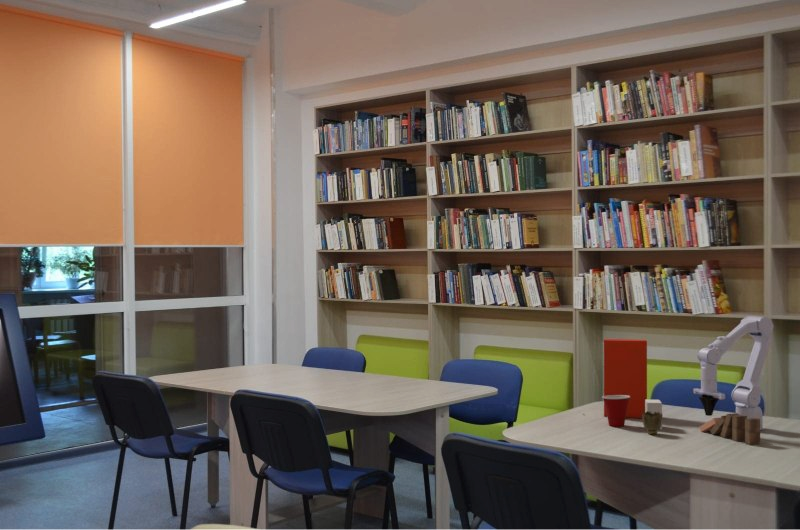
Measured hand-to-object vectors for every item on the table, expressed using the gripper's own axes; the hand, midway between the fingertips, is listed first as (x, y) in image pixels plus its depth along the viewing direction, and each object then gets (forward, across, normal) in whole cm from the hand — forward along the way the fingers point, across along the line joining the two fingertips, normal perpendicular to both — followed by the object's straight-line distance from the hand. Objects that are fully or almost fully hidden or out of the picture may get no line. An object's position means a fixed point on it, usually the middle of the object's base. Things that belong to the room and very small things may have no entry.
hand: (709, 415), depth 307 cm
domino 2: (+6, +4, 0) cm, 7 cm away
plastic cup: (+7, -24, -25) cm, 35 cm away
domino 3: (+6, +9, 0) cm, 11 cm away
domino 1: (+6, -2, 0) cm, 6 cm away
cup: (+7, -6, -22) cm, 24 cm away
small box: (+7, -15, -14) cm, 21 cm away
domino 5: (+6, +21, 0) cm, 22 cm away
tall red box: (+7, -39, -9) cm, 40 cm away
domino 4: (+6, +15, 0) cm, 17 cm away
